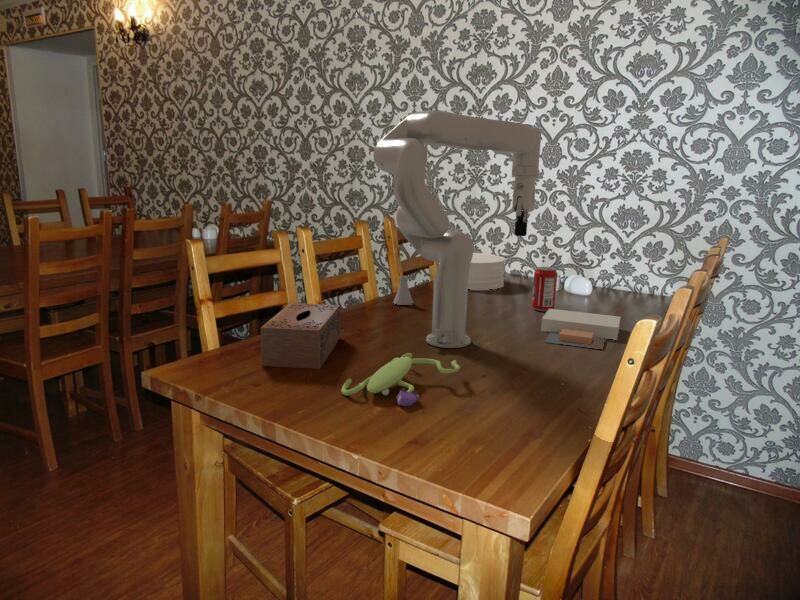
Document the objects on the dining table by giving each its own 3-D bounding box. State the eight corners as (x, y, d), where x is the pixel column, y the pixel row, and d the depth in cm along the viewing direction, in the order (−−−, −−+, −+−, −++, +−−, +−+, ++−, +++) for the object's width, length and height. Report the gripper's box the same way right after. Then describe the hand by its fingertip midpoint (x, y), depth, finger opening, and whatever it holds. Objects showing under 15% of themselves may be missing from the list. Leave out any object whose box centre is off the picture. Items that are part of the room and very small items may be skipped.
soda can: (545, 313, 196) (549, 270, 193) (527, 309, 202) (530, 267, 199) (558, 310, 202) (562, 268, 198) (540, 306, 207) (543, 265, 204)
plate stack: (434, 288, 234) (435, 260, 231) (441, 276, 261) (442, 251, 258) (504, 292, 230) (505, 264, 227) (503, 279, 256) (505, 254, 254)
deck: (616, 340, 167) (618, 327, 166) (540, 331, 175) (541, 318, 174) (619, 329, 180) (620, 316, 179) (548, 320, 188) (549, 308, 187)
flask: (416, 304, 206) (417, 276, 204) (406, 307, 200) (406, 279, 198) (400, 301, 210) (400, 274, 208) (389, 304, 204) (389, 277, 202)
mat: (603, 350, 157) (603, 349, 157) (544, 342, 164) (544, 341, 163) (606, 339, 168) (606, 338, 168) (550, 332, 174) (550, 331, 174)
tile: (593, 332, 167) (593, 339, 167) (562, 328, 170) (561, 335, 170) (591, 338, 161) (591, 344, 162) (559, 333, 165) (558, 340, 165)
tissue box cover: (319, 369, 139) (319, 330, 136) (261, 366, 140) (260, 327, 137) (340, 338, 164) (340, 305, 161) (290, 336, 165) (290, 302, 162)
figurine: (469, 381, 134) (470, 359, 132) (397, 418, 113) (398, 391, 112) (407, 363, 145) (407, 342, 143) (331, 393, 124) (331, 369, 123)
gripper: (533, 172, 157) (528, 239, 162) (542, 172, 171) (537, 234, 175) (506, 172, 160) (502, 237, 165) (517, 172, 174) (513, 232, 178)
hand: (520, 235), depth 170 cm, fingers closed
